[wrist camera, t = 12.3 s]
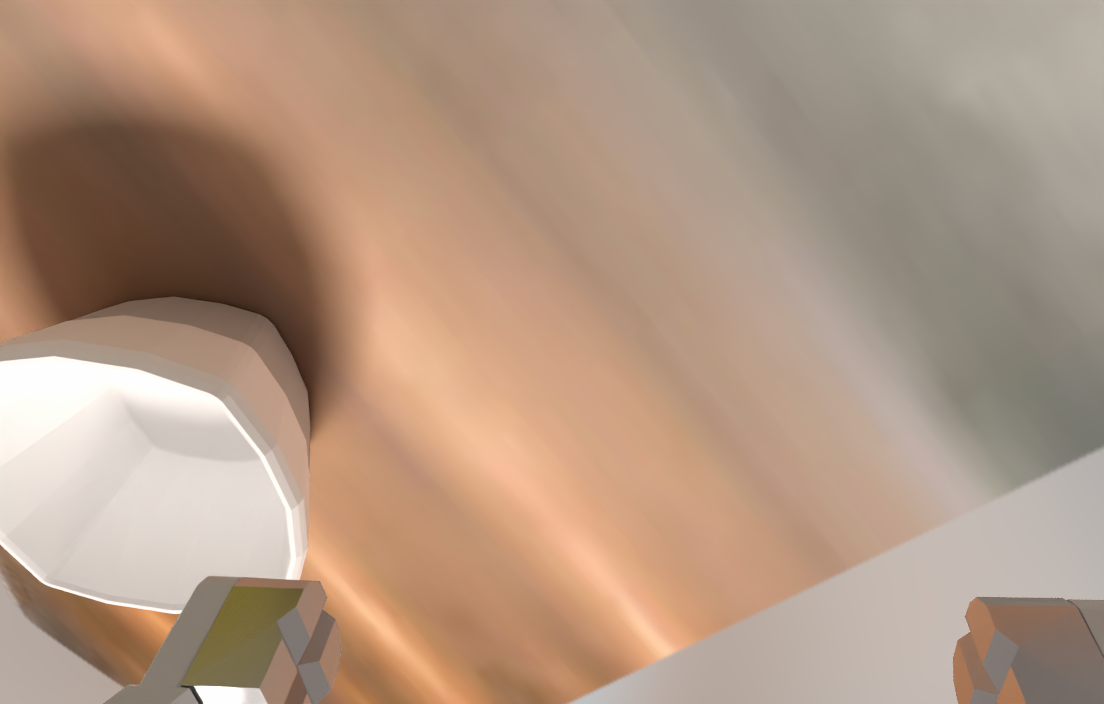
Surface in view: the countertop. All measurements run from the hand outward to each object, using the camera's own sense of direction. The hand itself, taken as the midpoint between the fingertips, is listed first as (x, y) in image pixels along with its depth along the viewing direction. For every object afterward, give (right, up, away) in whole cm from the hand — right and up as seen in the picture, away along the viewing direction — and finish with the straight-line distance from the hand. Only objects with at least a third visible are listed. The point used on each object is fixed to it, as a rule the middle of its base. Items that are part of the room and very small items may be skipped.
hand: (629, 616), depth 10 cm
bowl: (-21, +2, +37) cm, 42 cm away
